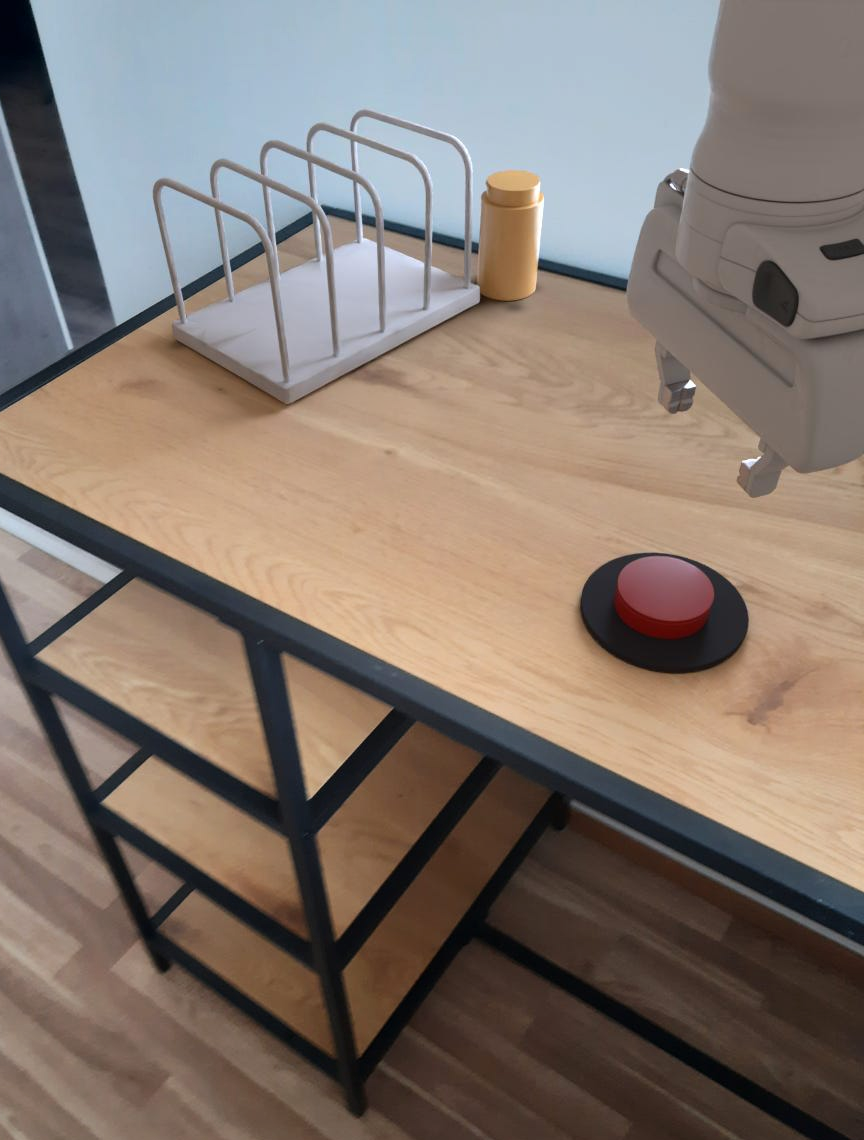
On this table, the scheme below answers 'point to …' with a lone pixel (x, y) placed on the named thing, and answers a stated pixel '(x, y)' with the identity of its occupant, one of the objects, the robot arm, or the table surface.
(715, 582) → the black coaster
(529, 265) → the jar
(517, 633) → the table surface
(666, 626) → the lid
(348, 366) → the file sorter
